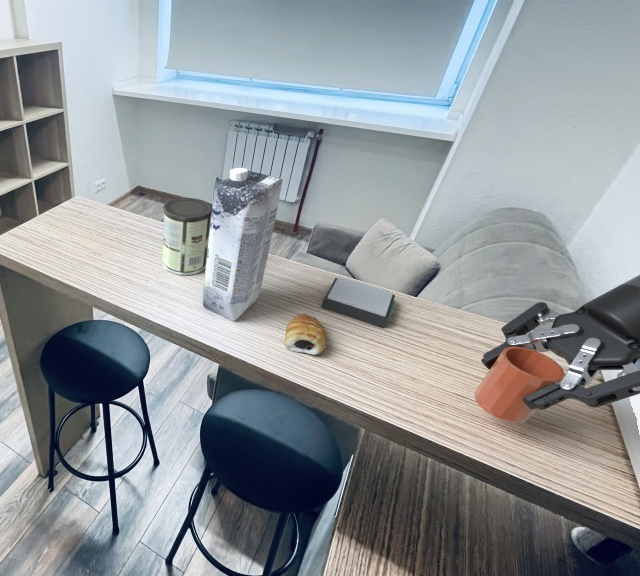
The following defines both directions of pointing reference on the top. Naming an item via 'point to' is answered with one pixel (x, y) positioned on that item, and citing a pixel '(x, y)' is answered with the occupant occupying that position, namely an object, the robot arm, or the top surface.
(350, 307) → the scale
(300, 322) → the pastry
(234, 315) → the juice carton
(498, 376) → the terracotta flower pot
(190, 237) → the coffee can
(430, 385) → the top surface
